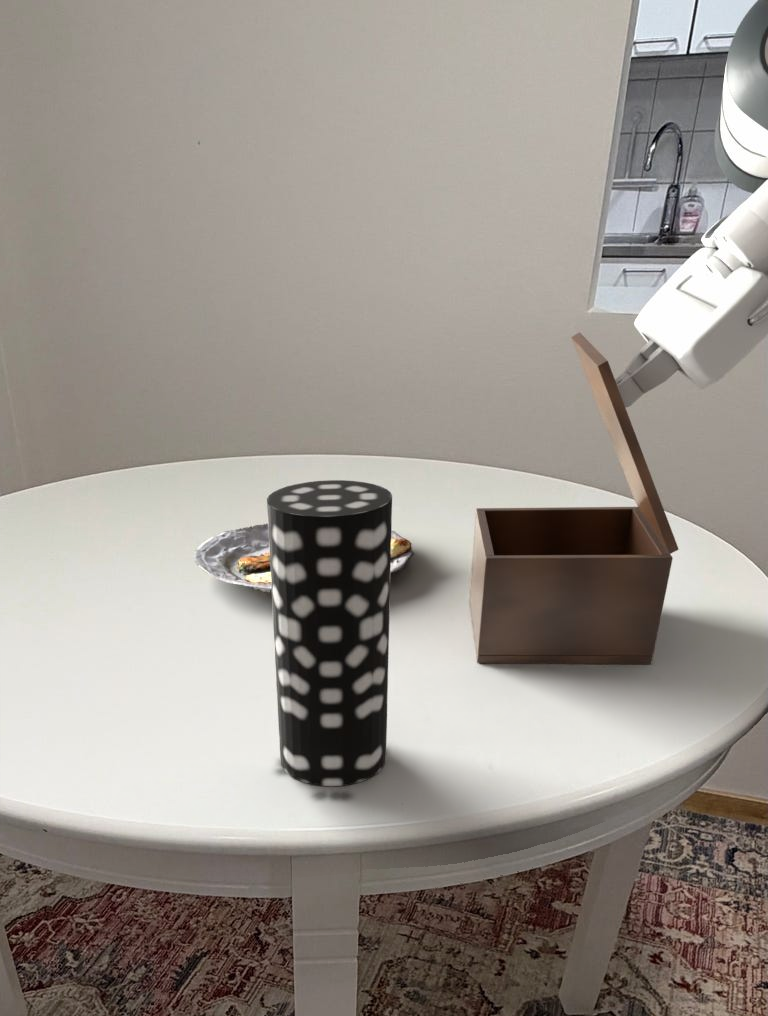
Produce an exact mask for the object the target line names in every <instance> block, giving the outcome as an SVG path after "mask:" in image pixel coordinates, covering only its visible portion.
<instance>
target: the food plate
mask: <svg viewBox="0 0 768 1016" xmlns="http://www.w3.org/2000/svg"><path fill="white" fill-rule="evenodd" d="M412 548H413V547H412V542H411V541H410V540H409V539H407V538H404V537H402V536H401V535H400V534H399V533H397V532H396V531H395V530H392V529H391V570H390V574H393V573H396V572H400V571H401V570H403V569H404V568H405V567H407V566H408V564H409V562H410V561H411V559H412V558H413V557H414V556H415V553H414V551H413V549H412ZM192 555H193V559H194V562H195V563H196V565H197V566H198V567H199V568H200V569H201V570H202V571H203V572H204V571H205V573H206V574H208V575H210V576H212V577H213V578H215V579H217V580H218V581H220V582H223V583H227V584H231V585H233V584H234V585H240V586H244V587H251V588H253V589H254V590H255V591H256V590H260V591H261V592H263V593H272V588H271V569H270V550H269V531H268V523H263V524H255V525H250V526H246V527H241V528H237V529H236V528H235V529H231V530H226V531H225V530H224V532H222V533H218V534H216V535H213V536H211V537H210V538H208V539H207V540H204V541H203V543H201V545H199V546H198V547H197V548H196V549H195V551H194V552H193V554H192Z"/></svg>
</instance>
